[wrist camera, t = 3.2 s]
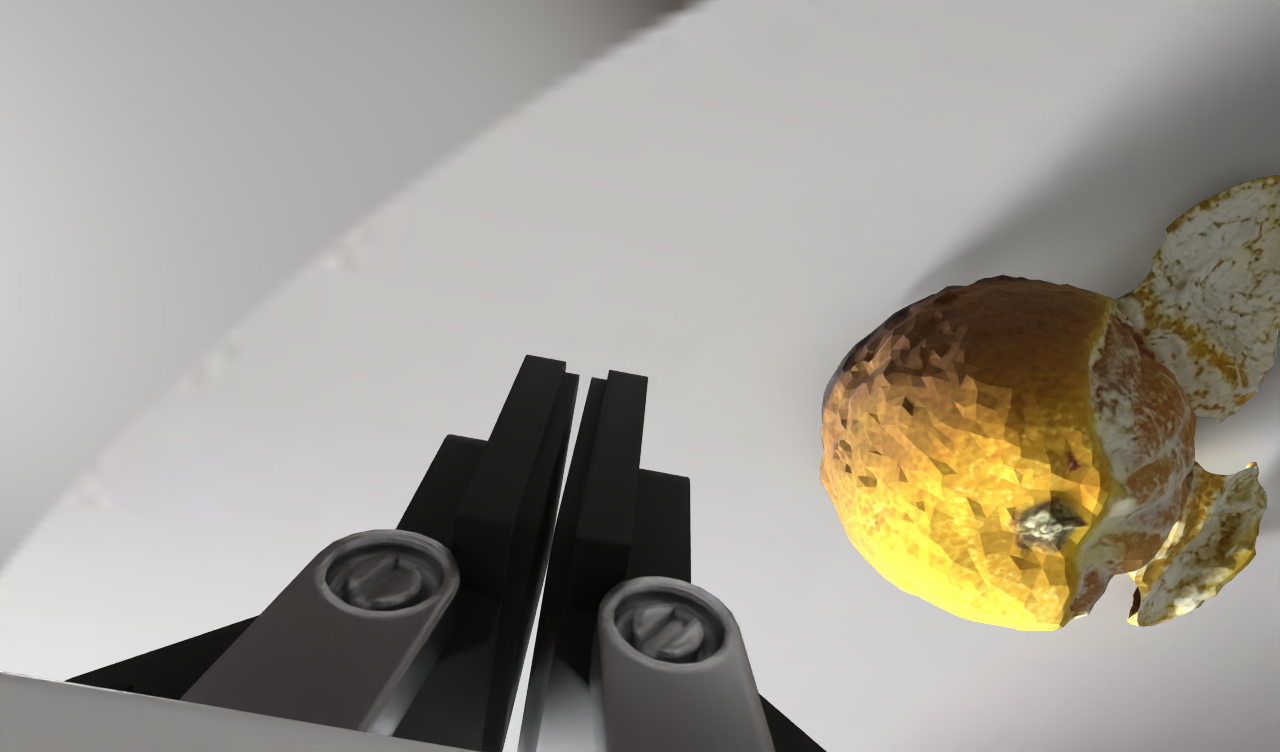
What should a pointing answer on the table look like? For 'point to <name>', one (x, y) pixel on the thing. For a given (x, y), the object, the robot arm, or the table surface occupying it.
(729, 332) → the table surface
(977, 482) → the fruit
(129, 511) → the table surface
